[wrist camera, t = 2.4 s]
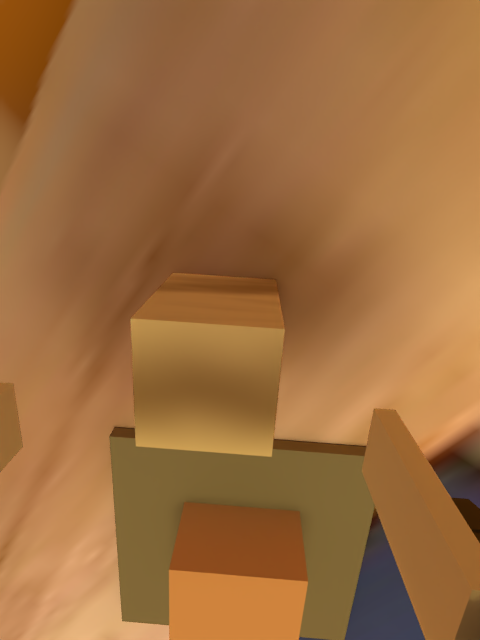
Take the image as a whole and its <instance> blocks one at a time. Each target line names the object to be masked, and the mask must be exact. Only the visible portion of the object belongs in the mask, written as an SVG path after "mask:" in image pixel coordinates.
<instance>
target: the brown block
mask: <svg viewBox="0 0 480 640" xmlns="http://www.w3.org/2000/svg"><path fill="white" fill-rule="evenodd" d="M130 321H131V345H132V369H133V393H134V417H135V440H136V446H138V447H151V448H164V449H177V450H190V451H203V452H216V453H229V454H242V455H254V456H267V457H272V449H273V439H274V430H275V420H276V411H277V401H278V391H279V382H280V372H281V363H282V353H283V344H284V334H285V326H284V321H283V315H282V310H281V304H280V298H279V293H278V287H277V281H276V279H261V278H247V277H232V276H217V275H202V274H187V273H172V274H171V275H170V276H169V278H168V279H167V280H166V281H165V282H164V283H163V284H162V285H161V286H160V287H159V288H158V289H157V290H156V291H155V293H154V294H153V295H152V296H151V297H150V298H149V299H148V300H147V301H146V302H145V303H144V304H143V305H142V307H141V308H140V309H139V310H138V311H137V312H136V313H135V314H134V315H133V316H132V317H131V318H130Z"/></svg>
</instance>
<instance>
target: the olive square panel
mask: <svg viewBox="0 0 480 640" xmlns="http://www.w3.org/2000/svg"><path fill="white" fill-rule="evenodd" d="M109 437H110V451H111V466H112V480H113V495H114V509H115V523H116V538H117V552H118V567H119V581H120V596H121V610H122V621H127V622H138V623H149V624H161V625H169V567H170V563H171V559H172V554H173V550H174V546H175V541H176V537H177V533H178V528H179V524H180V520H181V515H182V511H183V507H184V502H192V503H204V504H217V505H229V506H241V507H254V508H266V509H278V510H291V511H300V519H301V527H302V535H303V544H304V552H305V560H306V568H307V576H308V586H307V592H306V598H305V604H304V610H303V616H302V622H301V628H300V634H299V637H308V638H319V639H330V640H344V639H345V634H346V630H347V625H348V621H349V617H350V612H351V608H352V603H353V599H354V595H355V590H356V586H357V581H358V577H359V573H360V568H361V564H362V559H363V555H364V551H365V546H366V542H367V537H368V533H369V529H370V524H371V520H372V515H373V511H374V507H375V505H374V502H373V499H372V497H371V494H370V491H369V489H368V486H367V484H366V481H365V478H364V476H363V473H362V467H363V462H364V457H365V452H366V447H365V446H352V445H339V444H326V443H313V442H299V441H286V440H273V449H272V457H267V456H254V455H242V454H229V453H216V452H203V451H190V450H177V449H164V448H151V447H138V446H136V440H135V429H130V428H117V427H115V428H114V430H113V431H112V433H111V435H110V436H109Z"/></svg>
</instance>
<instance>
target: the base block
mask: <svg viewBox="0 0 480 640" xmlns="http://www.w3.org/2000/svg"><path fill="white" fill-rule="evenodd" d="M307 586H308V576H307V568H306V560H305V552H304V544H303V535H302V527H301V519H300V511H291V510H278V509H266V508H254V507H241V506H229V505H217V504H204V503H192V502H184V507H183V511H182V515H181V520H180V524H179V528H178V533H177V537H176V541H175V546H174V550H173V554H172V559H171V563H170V567H169V640H299V634H300V628H301V622H302V616H303V610H304V604H305V598H306V592H307Z"/></svg>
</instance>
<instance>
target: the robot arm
mask: <svg viewBox="0 0 480 640" xmlns="http://www.w3.org/2000/svg"><path fill="white" fill-rule="evenodd" d="M22 447H23V444H22V437H21V431H20V424H19V417H18V411H17V404H16V397H15V391H14V384H13V383H0V472H1V471H2V470H3V468H4V467H5V466H6V465H7V464H8V463H9V462H10V461H11V459H12V458H13V457H14V456H15V455H16V454H17V453H18V452H19V450H20V449H21V448H22ZM362 473H363V476H364V478H365V481H366V484H367V486H368V489H369V491H370V494H371V497H372V499H373V502H374V505H375V507H376V510H377V513H378V515H379V518H380V521H381V523H382V526H383V529H384V531H385V534H386V536H387V539H388V542H389V544H390V547H391V550H392V552H393V555H394V558H395V560H396V563H397V566H398V568H399V571H400V573H401V576H402V579H403V581H404V584H405V587H406V589H407V592H408V595H409V597H410V600H411V603H412V605H413V608H414V610H415V613H416V616H417V618H418V621H419V624H420V626H421V629H422V632H423V634H424V637H425V640H480V509H479V508H478V507H477V506H476V505H475V504H473V503H472V502H471V501H470V500H469V499H461V498H451V497H450V495H449V494H448V492H447V491H446V489H445V488H444V486H443V484H442V483H441V481H440V480H439V478H438V477H437V475H436V473H435V472H434V470H433V469H432V467H431V465H430V464H429V462H428V461H427V459H426V458H425V456H424V454H423V453H422V451H421V450H420V448H419V446H418V445H417V443H416V442H415V440H414V439H413V437H412V435H411V434H410V432H409V431H408V429H407V428H406V426H405V424H404V423H403V421H402V420H401V418H400V416H399V415H398V413H397V412H396V410H390V409H375V408H374V411H373V416H372V421H371V426H370V431H369V436H368V441H367V446H366V452H365V457H364V462H363V467H362Z"/></svg>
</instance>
